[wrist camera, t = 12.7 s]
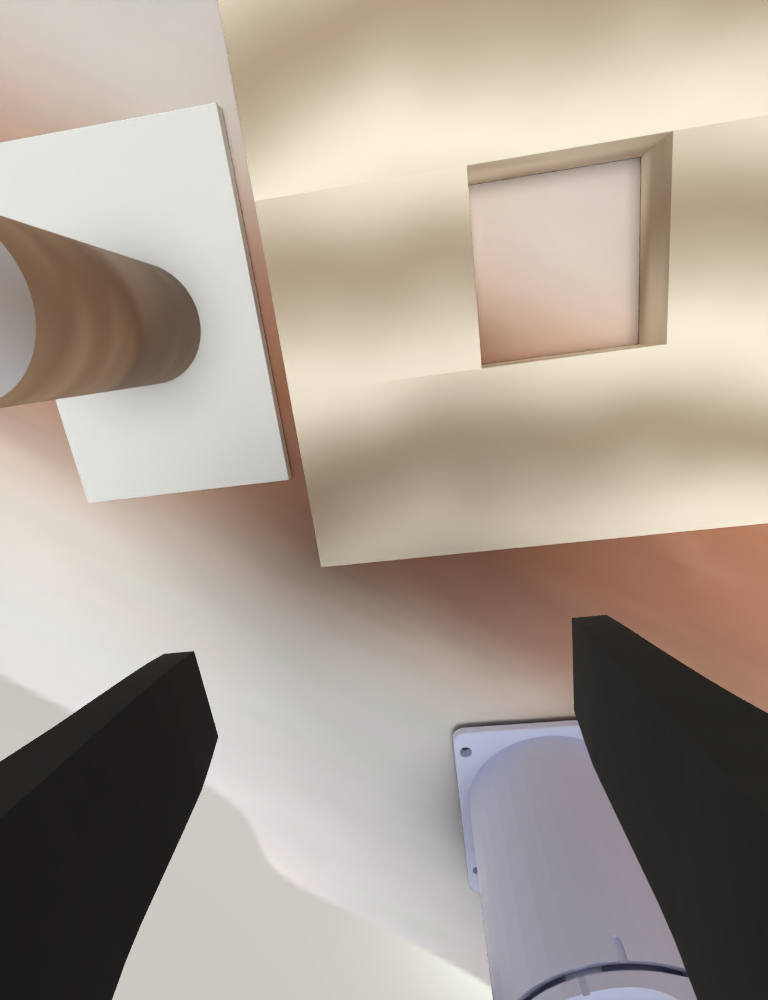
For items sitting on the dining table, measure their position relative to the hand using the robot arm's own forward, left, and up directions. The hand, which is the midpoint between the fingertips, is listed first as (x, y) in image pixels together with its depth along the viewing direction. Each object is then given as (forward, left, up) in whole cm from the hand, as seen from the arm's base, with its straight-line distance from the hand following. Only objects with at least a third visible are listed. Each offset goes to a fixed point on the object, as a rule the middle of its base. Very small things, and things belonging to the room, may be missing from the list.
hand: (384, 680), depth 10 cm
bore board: (+8, -6, -10) cm, 14 cm away
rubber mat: (+8, +8, -10) cm, 15 cm away
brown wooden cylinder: (+8, +8, -10) cm, 15 cm away
